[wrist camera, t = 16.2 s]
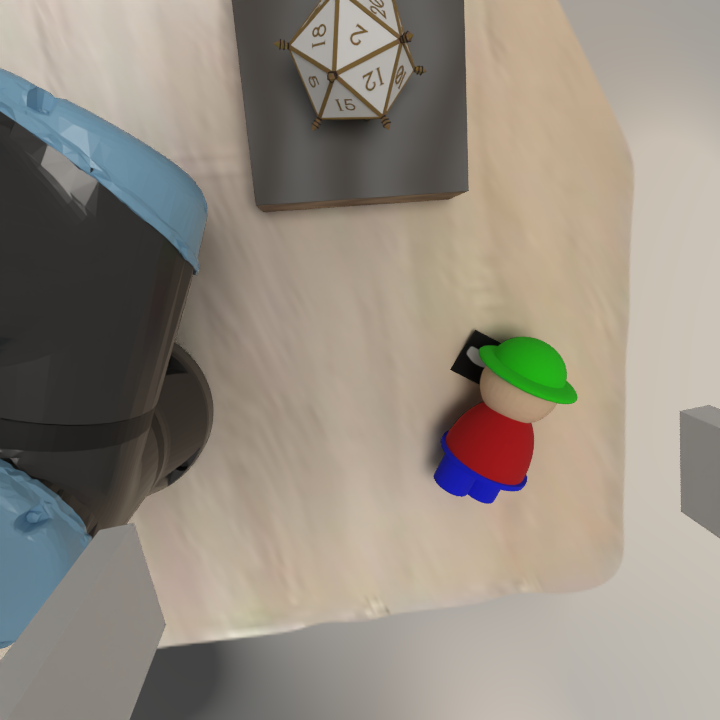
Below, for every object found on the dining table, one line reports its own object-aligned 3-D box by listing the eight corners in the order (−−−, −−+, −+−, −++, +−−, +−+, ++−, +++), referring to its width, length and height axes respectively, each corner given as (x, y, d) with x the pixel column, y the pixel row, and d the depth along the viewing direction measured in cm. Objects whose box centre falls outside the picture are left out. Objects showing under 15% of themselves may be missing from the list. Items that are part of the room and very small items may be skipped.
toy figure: (487, 465, 50) (560, 339, 45) (526, 531, 41) (623, 384, 36) (409, 443, 48) (478, 307, 43) (434, 508, 39) (524, 348, 34)
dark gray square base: (263, 211, 40) (255, 205, 35) (239, -4, 37) (226, -47, 32) (449, 199, 42) (468, 190, 36) (442, -11, 38) (462, -55, 33)
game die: (326, 79, 37) (280, -74, 28) (435, 74, 35) (425, -93, 26) (299, 171, 34) (239, 34, 25) (417, 172, 32) (398, 24, 23)
